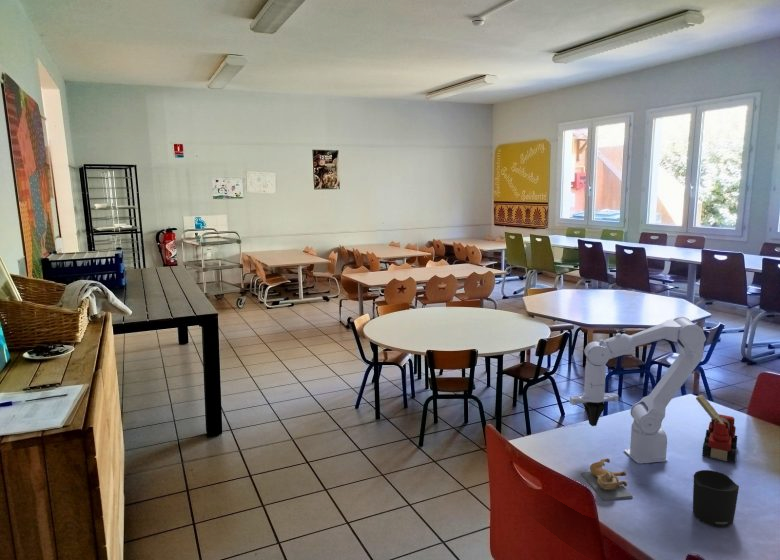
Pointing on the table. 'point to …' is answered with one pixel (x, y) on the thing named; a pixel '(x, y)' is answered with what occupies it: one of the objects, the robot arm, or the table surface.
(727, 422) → the toy fire truck
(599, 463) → the lion figurine
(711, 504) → the pen holder
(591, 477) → the rubber mat
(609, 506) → the table surface
